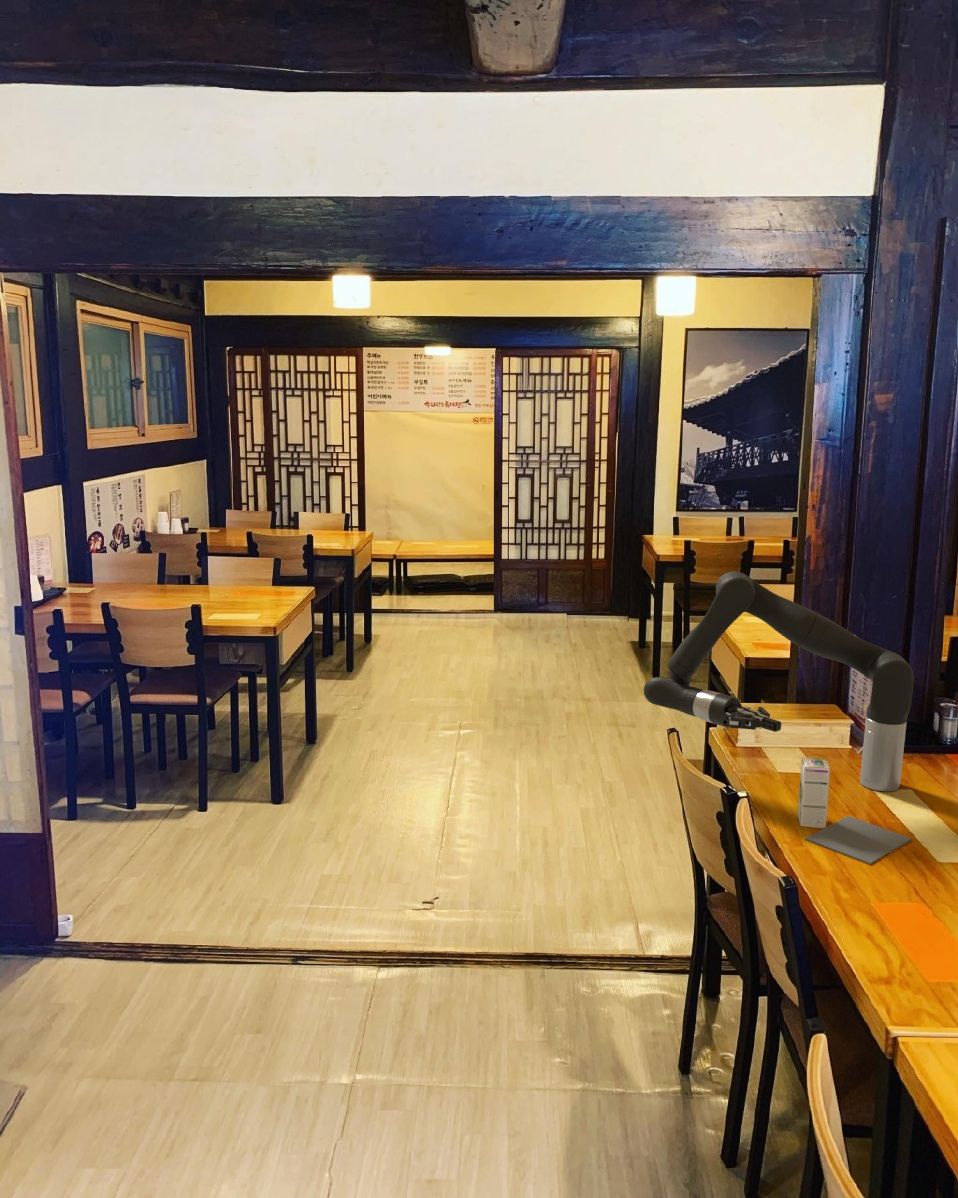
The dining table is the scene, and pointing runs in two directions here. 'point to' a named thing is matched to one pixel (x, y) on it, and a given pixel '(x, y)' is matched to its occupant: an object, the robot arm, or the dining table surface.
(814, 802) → the syrup box
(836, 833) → the mat
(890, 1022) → the dining table surface
